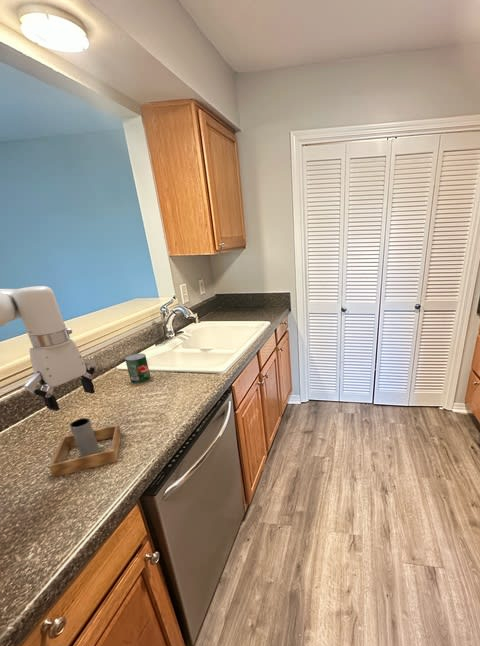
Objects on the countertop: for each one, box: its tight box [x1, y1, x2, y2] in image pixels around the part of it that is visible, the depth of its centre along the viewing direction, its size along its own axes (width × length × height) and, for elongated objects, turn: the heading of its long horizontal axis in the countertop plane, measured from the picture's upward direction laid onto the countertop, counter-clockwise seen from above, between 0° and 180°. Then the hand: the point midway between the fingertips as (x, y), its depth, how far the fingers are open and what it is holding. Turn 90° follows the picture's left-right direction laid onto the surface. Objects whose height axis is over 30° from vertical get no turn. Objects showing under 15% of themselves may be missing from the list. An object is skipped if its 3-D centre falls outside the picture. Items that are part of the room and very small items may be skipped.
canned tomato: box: [124, 353, 152, 385], centre depth 136 cm, size 8×8×11 cm
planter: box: [69, 417, 101, 457], centre depth 90 cm, size 4×4×10 cm
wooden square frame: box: [48, 424, 122, 478], centre depth 91 cm, size 15×15×4 cm
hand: (73, 400), depth 85 cm, fingers open, 9 cm apart
